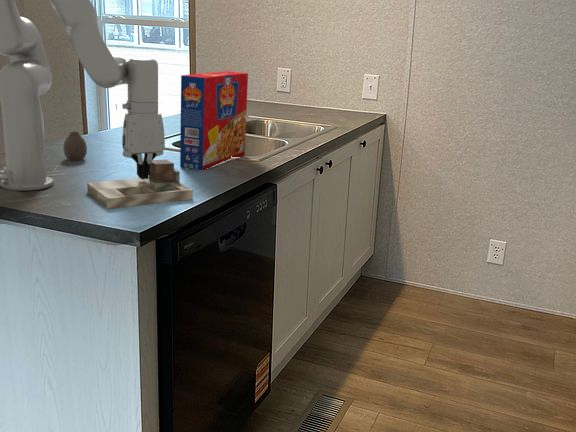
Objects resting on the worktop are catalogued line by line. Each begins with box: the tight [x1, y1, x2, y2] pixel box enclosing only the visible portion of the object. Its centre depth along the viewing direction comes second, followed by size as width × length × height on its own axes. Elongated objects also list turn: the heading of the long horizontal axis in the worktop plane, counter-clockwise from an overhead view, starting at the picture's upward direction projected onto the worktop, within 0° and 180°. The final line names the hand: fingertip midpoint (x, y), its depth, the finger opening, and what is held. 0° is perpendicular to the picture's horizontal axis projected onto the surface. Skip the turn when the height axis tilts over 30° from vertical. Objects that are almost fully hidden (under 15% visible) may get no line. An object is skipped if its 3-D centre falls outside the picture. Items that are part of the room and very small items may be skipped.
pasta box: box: [179, 70, 249, 171], centre depth 202 cm, size 28×8×28 cm, turn 157°
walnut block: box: [148, 159, 175, 183], centre depth 168 cm, size 5×5×5 cm
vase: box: [62, 130, 88, 162], centre depth 196 cm, size 7×7×9 cm
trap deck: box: [86, 168, 194, 210], centre depth 162 cm, size 22×16×6 cm
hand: (143, 177), depth 166 cm, fingers closed
